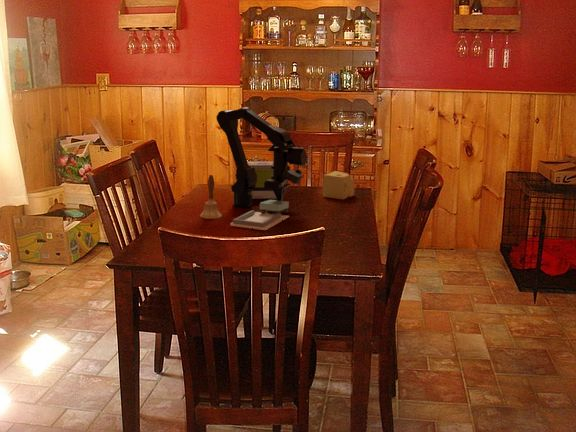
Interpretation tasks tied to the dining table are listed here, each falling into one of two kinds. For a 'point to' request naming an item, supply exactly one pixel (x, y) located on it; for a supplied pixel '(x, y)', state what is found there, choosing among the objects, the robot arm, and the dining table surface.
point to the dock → (258, 220)
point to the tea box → (262, 180)
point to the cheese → (338, 185)
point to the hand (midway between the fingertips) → (280, 202)
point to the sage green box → (274, 206)
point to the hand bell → (210, 203)
